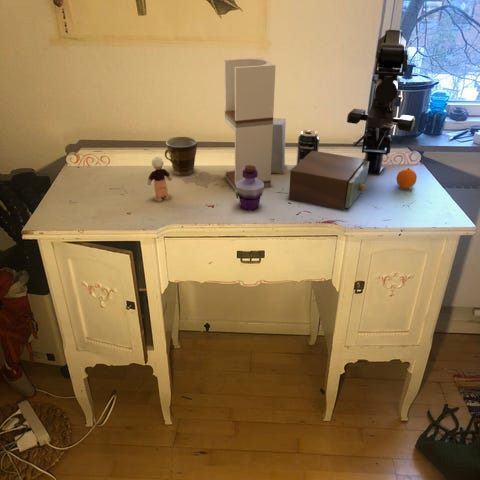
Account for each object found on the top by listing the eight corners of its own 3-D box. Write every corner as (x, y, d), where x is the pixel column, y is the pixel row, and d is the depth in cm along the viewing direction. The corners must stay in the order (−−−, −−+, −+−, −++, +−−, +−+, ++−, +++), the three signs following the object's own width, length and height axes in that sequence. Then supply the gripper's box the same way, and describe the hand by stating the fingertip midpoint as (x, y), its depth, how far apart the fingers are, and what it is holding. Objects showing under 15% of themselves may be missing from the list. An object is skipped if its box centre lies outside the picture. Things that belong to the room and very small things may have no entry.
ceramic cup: (181, 164, 180) (180, 134, 174) (204, 170, 176) (203, 140, 169) (155, 175, 172) (152, 145, 166) (178, 183, 167) (176, 152, 161)
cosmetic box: (282, 174, 173) (284, 125, 164) (260, 172, 174) (262, 123, 165) (285, 165, 180) (288, 117, 170) (264, 163, 181) (266, 116, 171)
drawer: (314, 175, 170) (316, 152, 165) (370, 186, 164) (374, 162, 159) (293, 197, 157) (295, 172, 152) (354, 209, 151) (358, 183, 146)
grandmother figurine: (166, 193, 161) (163, 152, 153) (174, 197, 159) (171, 155, 151) (146, 200, 157) (141, 159, 149) (154, 204, 154) (150, 162, 147)
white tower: (258, 174, 173) (262, 57, 152) (270, 186, 165) (275, 65, 144) (225, 178, 171) (224, 59, 149) (235, 191, 163) (235, 67, 141)
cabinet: (309, 177, 171) (311, 150, 166) (360, 187, 165) (365, 159, 160) (288, 199, 158) (290, 170, 152) (343, 210, 152) (347, 180, 147)
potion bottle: (230, 203, 156) (229, 163, 148) (256, 198, 158) (257, 159, 151) (241, 215, 149) (242, 174, 142) (269, 210, 152) (270, 169, 145)
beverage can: (305, 163, 181) (308, 128, 174) (320, 169, 177) (324, 133, 170) (291, 168, 177) (294, 132, 170) (307, 174, 173) (310, 137, 166)
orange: (397, 182, 168) (400, 163, 165) (416, 185, 166) (420, 166, 163) (392, 189, 164) (396, 169, 160) (412, 193, 162) (416, 173, 158)
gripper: (344, 97, 146) (338, 152, 156) (412, 105, 140) (401, 162, 150) (355, 87, 154) (348, 141, 164) (420, 95, 148) (409, 150, 158)
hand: (376, 148), depth 159 cm, fingers closed
